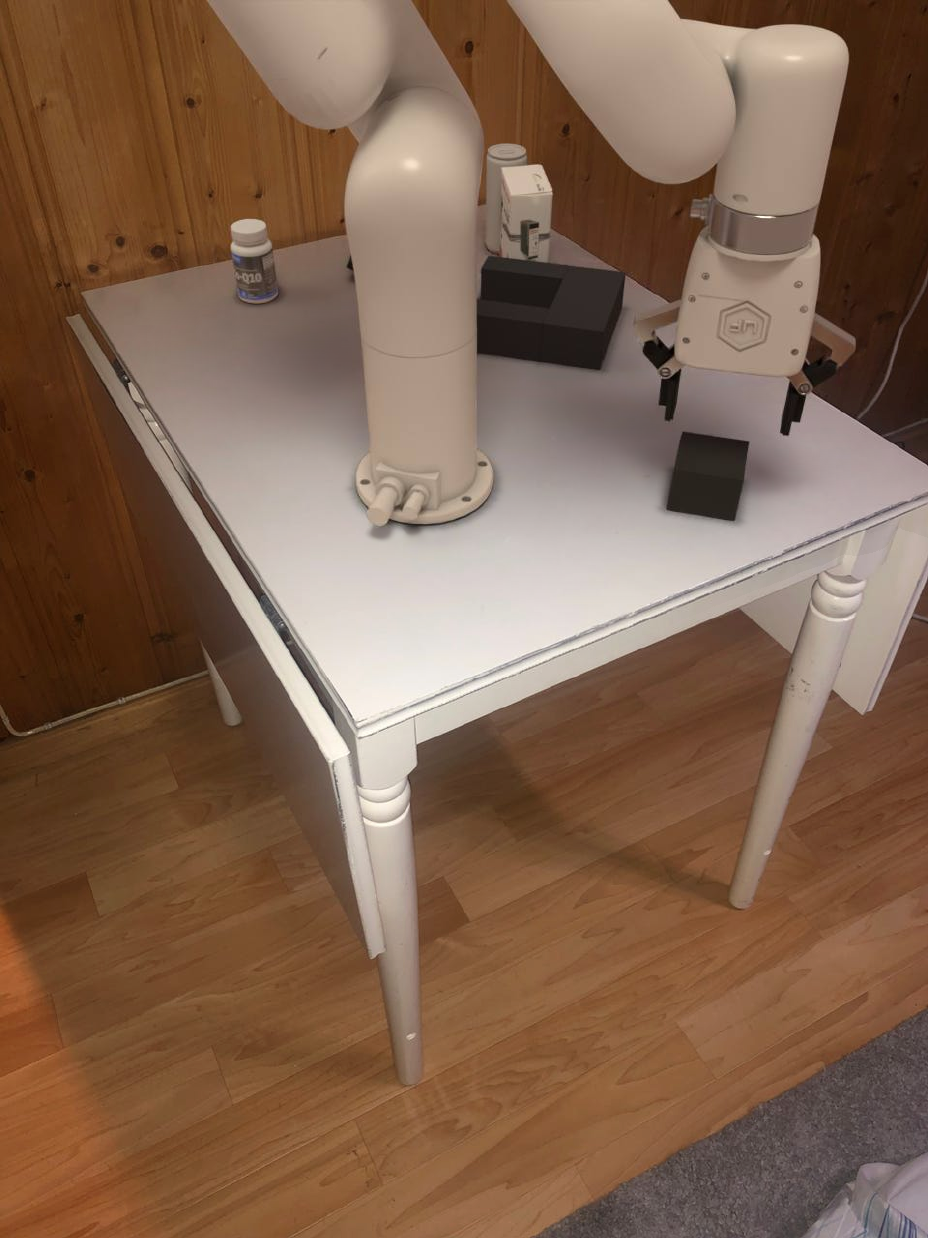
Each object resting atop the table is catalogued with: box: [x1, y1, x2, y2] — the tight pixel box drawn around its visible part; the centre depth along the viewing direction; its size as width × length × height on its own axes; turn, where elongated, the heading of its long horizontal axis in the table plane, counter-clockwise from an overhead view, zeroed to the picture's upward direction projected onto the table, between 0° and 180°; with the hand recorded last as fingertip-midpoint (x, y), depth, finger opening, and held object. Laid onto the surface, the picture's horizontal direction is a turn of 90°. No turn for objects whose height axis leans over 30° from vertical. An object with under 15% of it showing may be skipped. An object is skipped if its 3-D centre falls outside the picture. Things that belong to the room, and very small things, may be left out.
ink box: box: [499, 164, 554, 263], centre depth 119 cm, size 9×5×12 cm, turn 6°
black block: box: [666, 431, 750, 522], centre depth 91 cm, size 6×6×4 cm
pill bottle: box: [230, 218, 279, 305], centre depth 117 cm, size 5×5×8 cm
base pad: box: [477, 255, 627, 371], centre depth 113 cm, size 16×14×4 cm
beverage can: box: [485, 143, 528, 255], centre depth 125 cm, size 5×5×12 cm
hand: (727, 419), depth 86 cm, fingers open, 9 cm apart
